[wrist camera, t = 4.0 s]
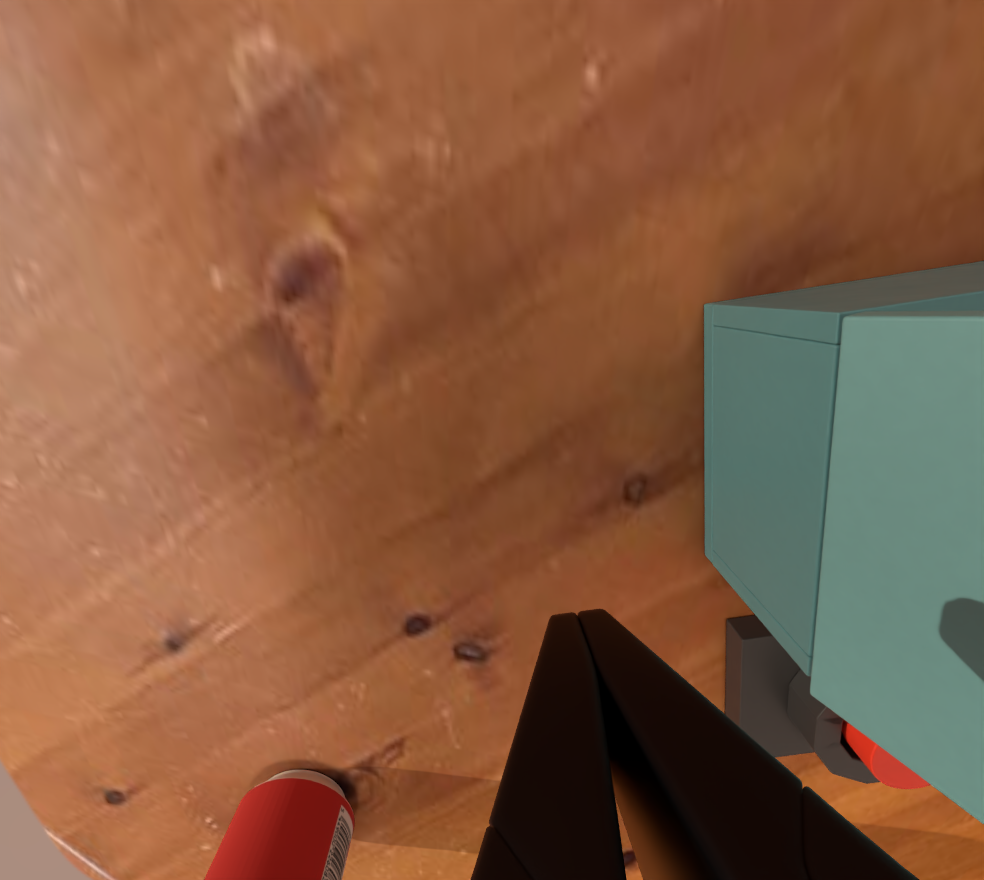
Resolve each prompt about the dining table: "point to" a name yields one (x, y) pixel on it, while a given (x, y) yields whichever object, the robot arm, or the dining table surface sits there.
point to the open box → (789, 432)
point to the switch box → (782, 702)
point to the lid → (908, 545)
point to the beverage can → (287, 831)
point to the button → (881, 761)
